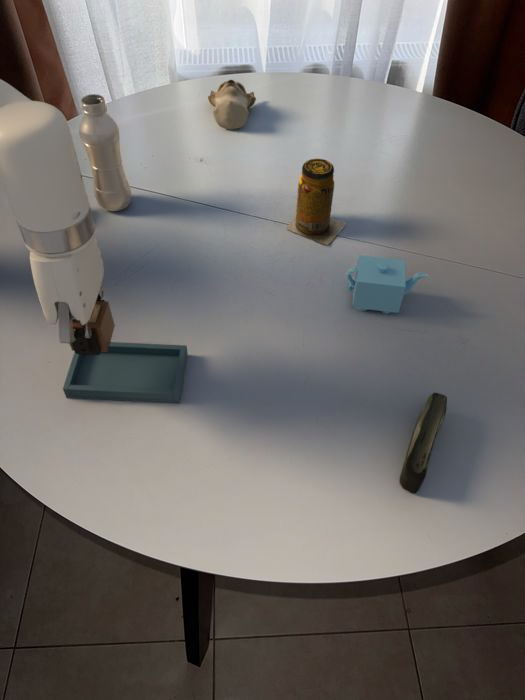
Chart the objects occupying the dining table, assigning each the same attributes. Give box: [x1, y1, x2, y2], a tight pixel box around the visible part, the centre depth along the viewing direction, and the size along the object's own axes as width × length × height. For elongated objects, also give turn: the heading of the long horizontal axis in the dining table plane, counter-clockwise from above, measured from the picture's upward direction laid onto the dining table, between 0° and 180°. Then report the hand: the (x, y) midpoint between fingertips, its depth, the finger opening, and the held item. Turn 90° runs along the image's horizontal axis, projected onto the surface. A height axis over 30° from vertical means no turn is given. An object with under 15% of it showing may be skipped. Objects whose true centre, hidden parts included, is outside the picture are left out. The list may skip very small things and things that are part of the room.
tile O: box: [69, 300, 116, 352], centre depth 74 cm, size 5×5×5 cm
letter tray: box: [62, 341, 189, 404], centre depth 81 cm, size 16×9×2 cm, turn 88°
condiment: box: [285, 158, 347, 246], centre depth 99 cm, size 7×8×12 cm
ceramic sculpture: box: [207, 79, 257, 131], centre depth 125 cm, size 11×9×15 cm
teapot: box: [346, 254, 429, 315], centre depth 89 cm, size 12×6×8 cm, turn 81°
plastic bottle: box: [78, 93, 132, 212], centre depth 99 cm, size 6×7×20 cm
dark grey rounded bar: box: [399, 392, 448, 494], centre depth 74 cm, size 5×3×15 cm
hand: (93, 336), depth 75 cm, fingers closed on tile O, 4 cm apart
